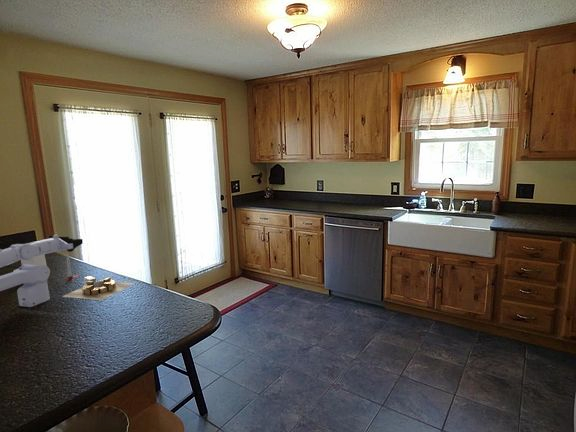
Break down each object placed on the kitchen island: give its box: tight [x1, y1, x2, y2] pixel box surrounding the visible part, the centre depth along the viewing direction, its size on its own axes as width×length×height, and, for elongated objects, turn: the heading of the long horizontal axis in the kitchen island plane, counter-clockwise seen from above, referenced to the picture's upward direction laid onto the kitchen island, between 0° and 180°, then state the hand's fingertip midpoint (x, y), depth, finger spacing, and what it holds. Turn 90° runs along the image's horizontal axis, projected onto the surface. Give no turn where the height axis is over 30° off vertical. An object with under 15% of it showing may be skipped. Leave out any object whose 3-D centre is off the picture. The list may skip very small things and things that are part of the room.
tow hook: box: [64, 253, 79, 282], centre depth 165 cm, size 8×13×9 cm
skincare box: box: [20, 254, 48, 267], centre depth 170 cm, size 8×7×16 cm
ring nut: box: [81, 275, 116, 295], centre depth 148 cm, size 12×16×4 cm
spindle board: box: [62, 279, 135, 301], centre depth 148 cm, size 18×20×5 cm
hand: (75, 240), depth 154 cm, fingers open, 7 cm apart
